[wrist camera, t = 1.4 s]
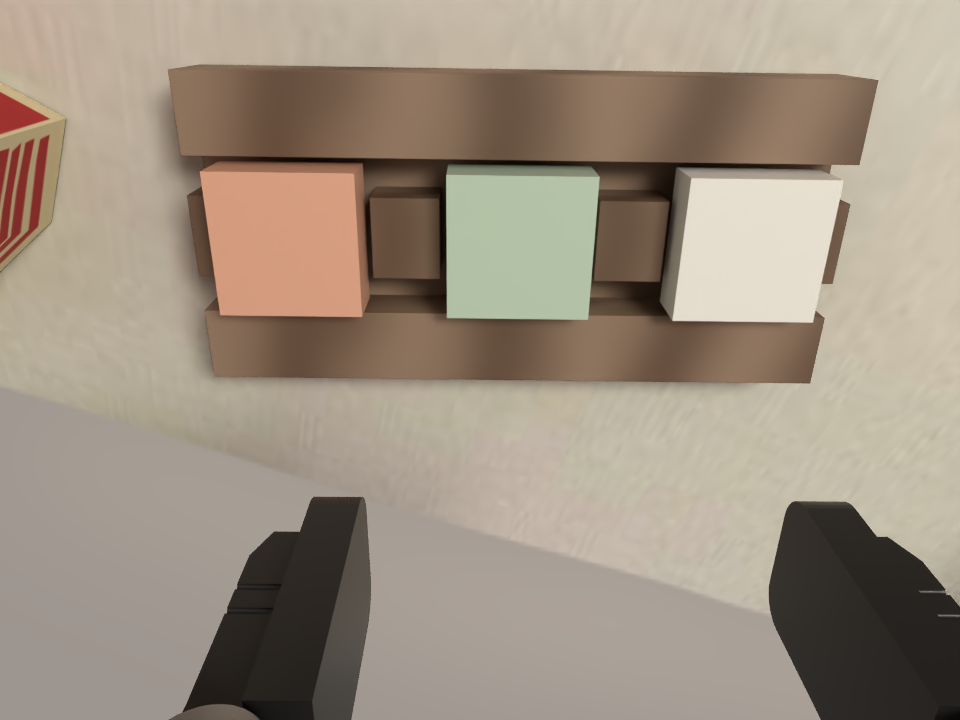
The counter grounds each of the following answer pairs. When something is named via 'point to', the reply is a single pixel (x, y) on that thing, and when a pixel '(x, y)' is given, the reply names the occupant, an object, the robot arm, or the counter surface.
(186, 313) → the counter surface
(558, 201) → the sage green key
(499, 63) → the counter surface
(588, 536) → the counter surface
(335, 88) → the key board
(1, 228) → the milk carton
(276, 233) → the terracotta key
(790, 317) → the ivory key
